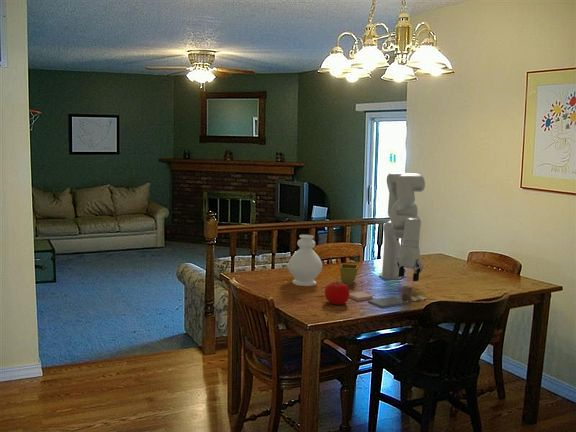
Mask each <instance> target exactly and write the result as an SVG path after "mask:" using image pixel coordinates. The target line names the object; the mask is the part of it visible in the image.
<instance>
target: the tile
mask: <svg viewBox="0 0 576 432" xmlns="http://www.w3.org/2000/svg"><path fill="white" fill-rule="evenodd" d="M373 297H374V296H373V295H371V294H370V293H367V292H365V291H356V292H349V298H350V299H352V300H355V301H357V302H361V301H367V300H373V299H374V298H373Z"/></svg>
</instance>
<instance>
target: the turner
mask: <svg viewBox="0 0 576 432" xmlns="http://www.w3.org/2000/svg"><path fill="white" fill-rule="evenodd" d="M412 293H413V286H409V285H403V287H402V294H401V295H402V296H401V297H402V298H401V299H402V300H404V301H410V302H413V301H415V302H418V301H417V300H421V301H425V300H424V299H427V297H423V296H421V295H413V296H412ZM411 300H412V301H411Z"/></svg>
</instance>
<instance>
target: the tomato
mask: <svg viewBox="0 0 576 432" xmlns="http://www.w3.org/2000/svg"><path fill="white" fill-rule="evenodd" d="M349 293H350V290H349V287H348V286H347V283H344V282H338V281H333V282H330V283H329V284H327V286H326V287H325V289H324V295H325V299H326V300H327V301H328V302H329V303H330V304H334V305H336V306H337V305H338V306H340V305H343V304H345V303H347V302H348V300H349V298H350V297H349Z"/></svg>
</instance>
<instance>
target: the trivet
mask: <svg viewBox="0 0 576 432" xmlns="http://www.w3.org/2000/svg"><path fill="white" fill-rule="evenodd" d="M367 303H369V304H371V305H375V306H377V307H378V308H381V309H383V308H384V309H385V307H386V308H391V306H392V307H397V306H396V305H398V306H402V304H404V305H408V304H409V302H407V301H404V300H402V298H399V297H396V296H394V295H393V296H387V297H382V298H373V299H368V302H367ZM407 303H408V304H407Z"/></svg>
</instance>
